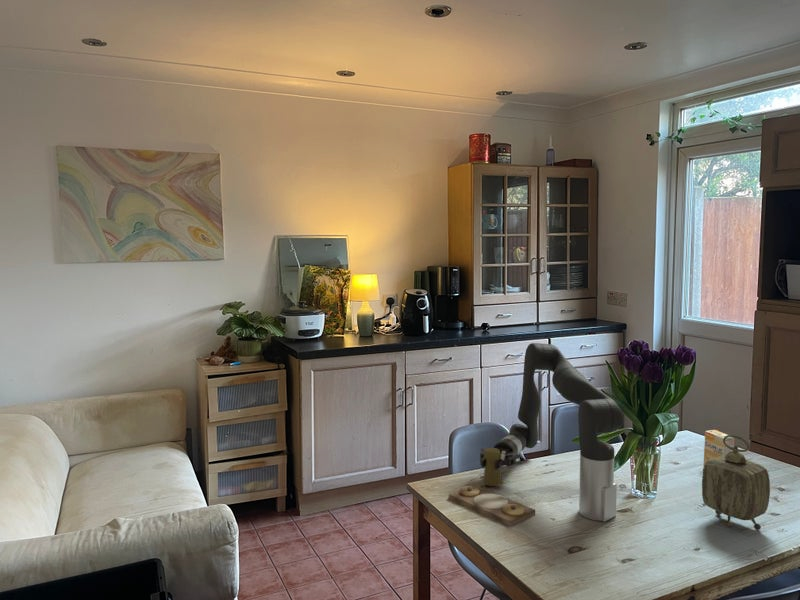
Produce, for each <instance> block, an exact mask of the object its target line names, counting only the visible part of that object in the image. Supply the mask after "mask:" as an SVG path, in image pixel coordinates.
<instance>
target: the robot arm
mask: <svg viewBox="0 0 800 600" xmlns="http://www.w3.org/2000/svg"><path fill="white" fill-rule="evenodd" d="M524 354H525V355H524V360H523V361H524V362H523V376H522V391H521V392H522V394H521V399H520V404H519V409H518V413H517V418H518V420H519V421H520V422H522V423H523V424H521V423H514V424H512V425H511V427H510V429H509V432H508V434H507V436H504V437H503V438H502V439H500V440H499V441H497V443H495V444H494V445H493V447H492V448H497V449H499V451H500V453H501V456H500V458H499V460H498V461H497V462H495V469H497V470H498V469H499V468H500V469H501V468H503V467H505V466H506V467H507V468H510V467H513V466H515V465H517V464H520V461H521V460H520V453H521V452H523V450H525V448H527V449H533V448H535V447H536V445H537V444H538V441H539V431H538V430H539V429H538V428H539V427H538V418H539V413H540V409H541V405H542V404H541V403H542V401H541V395H540V392H539V390H538V388H537V385H536V381H535V371H537V370H538V371H550V372H552V373H553V374H552V378H551V381H552V386H553V387H554V389H555V390H556V391H557V392H558V393H559V395H561V397H562V398H564V399H565V400H566V401H568V402H570V403H573V404H575V405H578V411H577V412H578V413H577V414H578V415H577V419H578V421H577V422H578V442H579V443H578V444H579V451H580V452H579V494H578V495H579V499H578V501H579V502H578V507H579V509H578V512H579V514H580V515H581V516H582V517H583V518H586V519H589V520H591V521H601V522H603V523H605V522H607V521H609V520H611V519H613V518H615V517H616V516H617V491H618V489H617V488H618V486H617V485H618V483H617V482H614V481H615V448H614V445H611V444H610V443H608V442H605V441H602V440H599V439H598V433H600V434H602V433H611V432H615V431H618V430H619V429H621V428H622V425H623V424H624V415H623V411H622V409H621V407H620V406H619V404H618V403H617V402H616V401H615V400H614V399H613V398H611V397H610V396H608V395H607V394H606V393H604V391H601V390H600V389H598V388H597V386H595V385H594V384H593V383H592V382H591V381H589V380H588V379H587V378H586V377H585V376H584V375H583V374H582V373H581V372H580V371H579V370H578V369H577V368H576V367H575V366H573V365H572V364H571V363H570V361H569V360H568V359H567V358H566V357H565V356H564V354H563V352H561V350H560V349H559V347H557V346H556V345H555V344H550V343H540V342H538V343H537V342H533V343H530V344H528V346H527V347H526V349H525V353H524ZM485 450H486V449H485V448H481V449H480V453H479V462H480V467H481V468H485V464H486V458H485V456H484V452H485Z"/></svg>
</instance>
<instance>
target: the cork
mask: <svg viewBox="0 0 800 600" xmlns="http://www.w3.org/2000/svg"><path fill="white" fill-rule="evenodd" d="M484 450H485V452H484V456H485V458H486V464H485V467H484V472H483V479H482V483H483V484H484V485H486V486H491V487H496V486H500V485H502V484H503V481H502V480H503V479H502V473H501V468H499V469H498V470H497V469H495V462H497V461H498V460H499V458H500V456H501V453H500V451H499V449H497V448H493V447H488V448H486V449H484Z"/></svg>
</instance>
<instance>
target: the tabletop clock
mask: <svg viewBox="0 0 800 600" xmlns="http://www.w3.org/2000/svg"><path fill="white" fill-rule="evenodd" d="M728 437H733V438H734V439H737V440H740V441H742V442H744V443H745V445H746V448H744V449H740V448H739V447H738V445H735V444H734V448H733V447H730V446H729V445H727V444H726V443H725V439H726V438H728ZM723 442H724V444H725V446H726V447H728V448H729V449H731V450H733V451H730V452H728V453H727V454H726V455H723V456H719V457H716V458H713V459H710V460H707V461H706V463H705V465H704V464H703V466H704V467H703V471H702V480H701V494H702V495H701V496H702V501H703V504H704V505H706V506H707V507H708V508H710V509H712V510H714V511H715V512H714V513H715V514H716V515H717V516H721V515H722V514H723V515H725V516H727V520H725V521H724V526H725V527H726V528H730V527H731V526H732V522H731V518H734V519H738V520H741V521H751V522H752V524H754V525H753V529H755V530H756V531H760V530H761V527H762V526H761V525H760V524H759V523H757V522H756V520H755V519H756V518H758V517H760V516H761V515H765V514H766V512H767V510H768V507H769V503H770V497H771V496H770V495H771V484H770V483H771V482H770V475H769V471H768V469H767V468H765V466H763V465H761V464H760V463H758V462H755V461H752V460H749V459H746V457H745V456H744V454H743V453H746V452H748V451H749V450H750V444H749V442H748V441H747V440H746V439H744V438H743V437H742V436H739V435H736V434H727V436H725V437H724V439H723Z"/></svg>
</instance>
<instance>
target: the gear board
mask: <svg viewBox="0 0 800 600" xmlns="http://www.w3.org/2000/svg"><path fill="white" fill-rule="evenodd" d="M448 500H451V501H453V502H455V503H457V504H459V503H460V504H459V505H461V506H464V507H467V508H469V509H470V510H473V511H475V512H478V513H479V514H481V515H484V516H486V517H488V518H490V519H493V520H495V521H497V522H499V523H502V524H504V525H505V526H509V527H512V526H514V525H516V524H519V523H521V522H523V521H525V520H527V519H529V518H532V517H533V516H536V509H534V508H533V507H530V506H527V505H525V504H523V503H520V502H517V501H516V500H513V499H510V498H507V497H505V496H504V495H501V494H498V493H495V492H493V491H490V490H488V489H485V488H484V487H481V486H478V485H475V484H471V485H465V486H462V487H460V488H459V489H458V490H456V491H453V492H450V493H448Z"/></svg>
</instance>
